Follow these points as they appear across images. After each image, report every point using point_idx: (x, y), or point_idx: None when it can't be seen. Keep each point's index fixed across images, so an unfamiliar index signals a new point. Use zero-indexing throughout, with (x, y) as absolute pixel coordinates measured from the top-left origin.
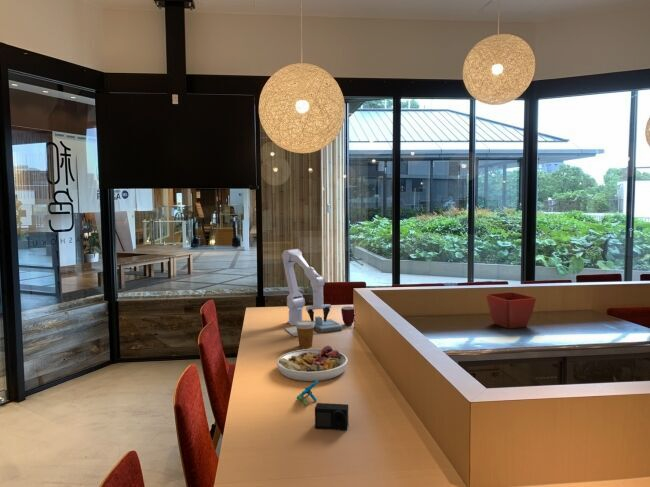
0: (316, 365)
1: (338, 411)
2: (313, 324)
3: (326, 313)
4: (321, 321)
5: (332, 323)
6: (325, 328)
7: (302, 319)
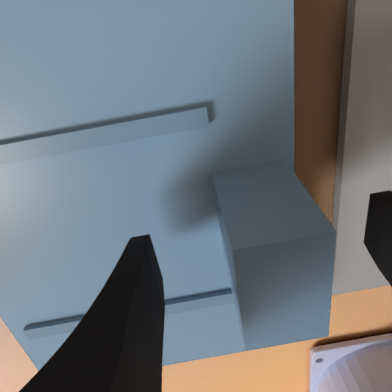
0: None
1: None
2: None
3: (102, 358)
4: (231, 202)
5: (26, 215)
6: None
7: None
